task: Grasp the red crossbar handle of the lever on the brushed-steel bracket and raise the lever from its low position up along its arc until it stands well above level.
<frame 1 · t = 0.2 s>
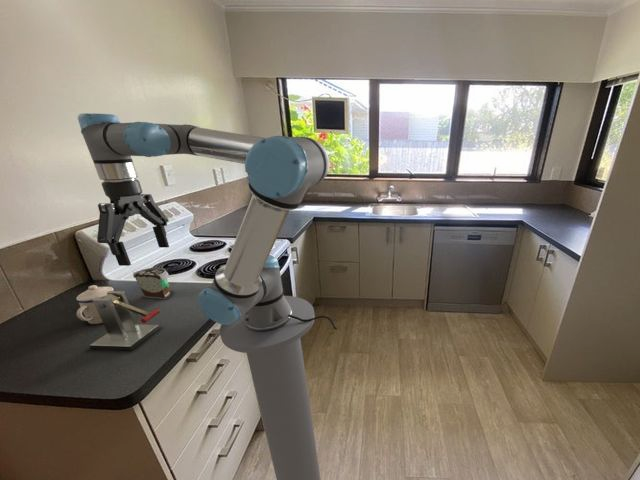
hand: (146, 255, 83), 24 cm above the countertop, tool pointing down, fingers open, 13 cm apart
bracket: (127, 338, 85), on the countertop
teacup with lid: (102, 319, 95), on the countertop
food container: (162, 294, 110), on the countertop
lever: (129, 308, 81), point 11 cm above the countertop, hinge at -25.0°
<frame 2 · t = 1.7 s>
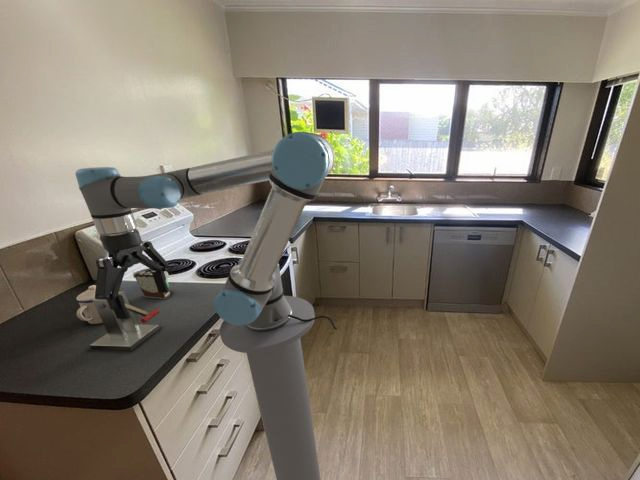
hand: (145, 304, 80), 12 cm above the countertop, tool pointing down, fingers open, 13 cm apart
nothing on the countertop moved.
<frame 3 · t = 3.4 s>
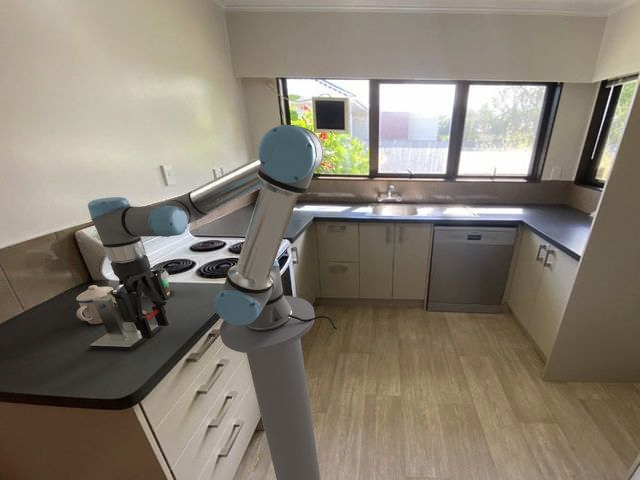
hand: (156, 330, 84), 3 cm above the countertop, tool pointing down, fingers closed on lever, 5 cm apart
lever: (129, 308, 81), point 11 cm above the countertop, hinge at -25.0°, touching gripper
everything else where it was.
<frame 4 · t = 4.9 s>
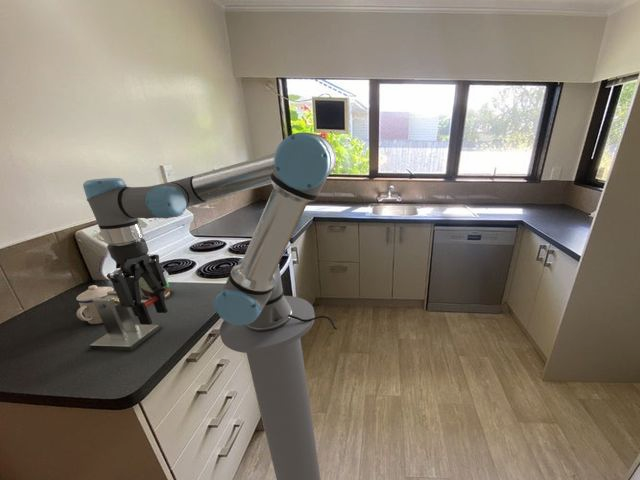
hand: (154, 317, 82), 8 cm above the countertop, tool pointing down, fingers closed on lever, 5 cm apart
lever: (128, 301, 80), point 13 cm above the countertop, hinge at -1.2°, touching gripper
everything else where it was.
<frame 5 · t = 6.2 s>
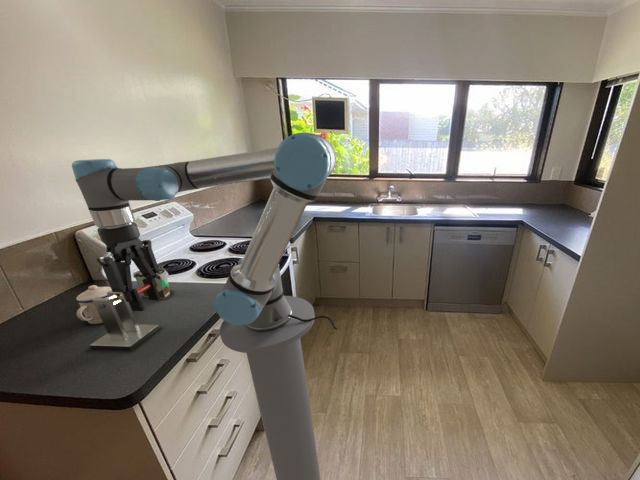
hand: (147, 304, 80), 12 cm above the countertop, tool pointing down, fingers closed on lever, 5 cm apart
lever: (125, 295, 79), point 15 cm above the countertop, hinge at 20.6°, touching gripper
everything else where it was.
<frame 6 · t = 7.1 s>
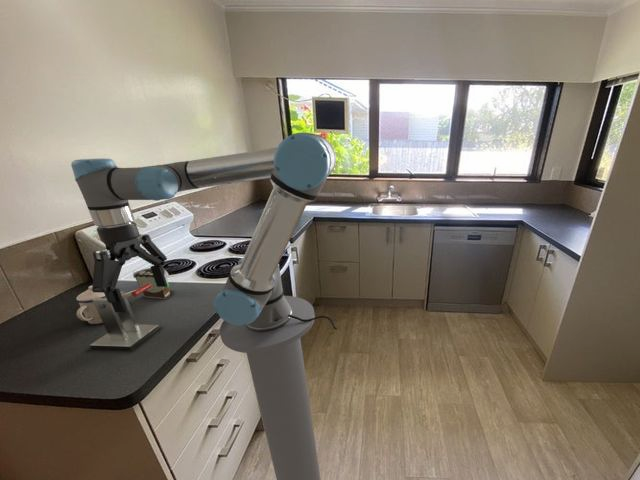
hand: (143, 298, 79), 14 cm above the countertop, tool pointing down, fingers open, 13 cm apart
lever: (125, 295, 79), point 15 cm above the countertop, hinge at 20.6°
everything else where it was.
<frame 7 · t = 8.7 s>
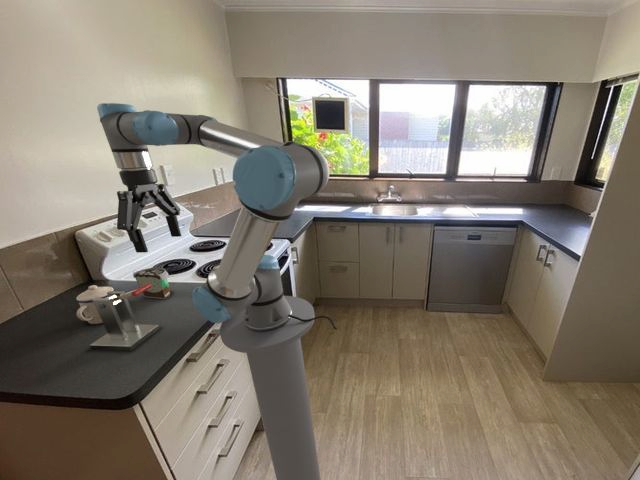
hand: (160, 243, 85), 26 cm above the countertop, tool pointing down, fingers open, 13 cm apart
nothing on the countertop moved.
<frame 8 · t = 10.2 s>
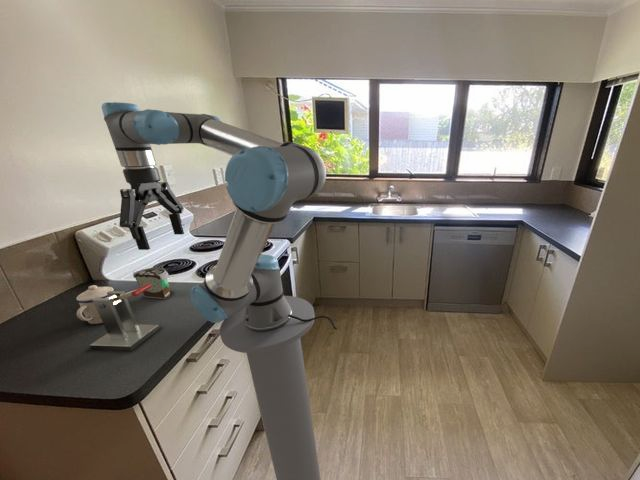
hand: (163, 241, 86), 27 cm above the countertop, tool pointing down, fingers open, 13 cm apart
nothing on the countertop moved.
at the end: lever at +21° (first picture: -25°); teacup with lid moved 0.2 cm from its start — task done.
